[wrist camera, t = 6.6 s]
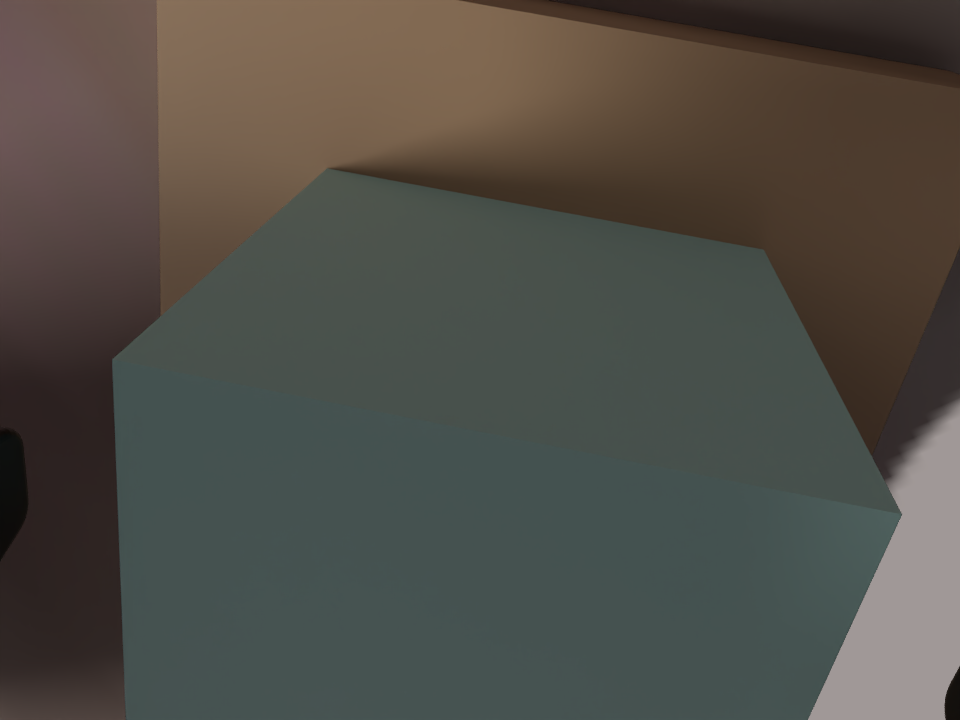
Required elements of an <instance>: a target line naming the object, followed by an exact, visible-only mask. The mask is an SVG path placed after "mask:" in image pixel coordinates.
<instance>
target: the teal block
mask: <svg viewBox="0 0 960 720" xmlns="http://www.w3.org/2000/svg"><path fill="white" fill-rule="evenodd" d="M112 369H113V395H114V421H115V447H116V474H117V500H118V526H119V552H120V579H121V605H122V631H123V657H124V684H125V710H126V720H808V718H809V716H810V714H811V712H812V709H813V707H814V705H815V703H816V701H817V699H818V696H819V694H820V692H821V690H822V688H823V685H824V683H825V681H826V679H827V677H828V675H829V672H830V670H831V668H832V666H833V664H834V662H835V659H836V657H837V655H838V653H839V650H840V648H841V646H842V644H843V642H844V640H845V638H846V635H847V633H848V631H849V629H850V627H851V624H852V622H853V620H854V618H855V616H856V613H857V611H858V609H859V607H860V605H861V603H862V600H863V598H864V596H865V594H866V592H867V590H868V587H869V585H870V583H871V581H872V579H873V577H874V574H875V572H876V570H877V568H878V565H879V563H880V561H881V559H882V557H883V555H884V553H885V550H886V548H887V546H888V544H889V542H890V540H891V537H892V535H893V533H894V531H895V528H896V526H897V524H898V522H899V520H900V518H901V516H902V514H901V512H900V510H899V508H898V506H897V504H896V502H895V500H894V498H893V496H892V494H891V493H890V491H889V489H888V487H887V485H886V483H885V481H884V479H883V477H882V475H881V473H880V471H879V470H878V468H877V466H876V464H875V462H874V460H873V458H872V456H871V454H870V452H869V450H868V448H867V447H866V445H865V443H864V441H863V439H862V437H861V435H860V433H859V431H858V429H857V427H856V426H855V424H854V422H853V420H852V418H851V416H850V414H849V412H848V410H847V408H846V406H845V404H844V403H843V401H842V399H841V397H840V395H839V393H838V391H837V389H836V387H835V385H834V383H833V381H832V380H831V378H830V376H829V374H828V372H827V370H826V368H825V366H824V364H823V362H822V360H821V358H820V357H819V355H818V353H817V351H816V349H815V347H814V345H813V343H812V341H811V339H810V337H809V335H808V334H807V332H806V330H805V328H804V326H803V324H802V322H801V320H800V318H799V316H798V314H797V312H796V311H795V309H794V307H793V305H792V303H791V301H790V299H789V297H788V295H787V293H786V291H785V289H784V288H783V286H782V284H781V282H780V280H779V278H778V276H777V274H776V272H775V270H774V268H773V267H772V265H771V263H770V261H769V259H768V257H767V255H766V253H765V251H764V250H763V249H757V248H752V247H746V246H741V245H736V244H730V243H725V242H720V241H714V240H709V239H704V238H698V237H693V236H688V235H682V234H677V233H671V232H666V231H661V230H655V229H650V228H645V227H639V226H634V225H629V224H623V223H618V222H612V221H607V220H602V219H596V218H591V217H586V216H580V215H575V214H570V213H564V212H559V211H553V210H548V209H543V208H537V207H532V206H527V205H521V204H516V203H511V202H505V201H500V200H494V199H489V198H484V197H478V196H473V195H468V194H462V193H457V192H452V191H446V190H441V189H435V188H430V187H425V186H419V185H414V184H409V183H403V182H398V181H393V180H387V179H382V178H376V177H371V176H366V175H360V174H355V173H350V172H344V171H339V170H334V169H328V168H327V169H326V170H325V171H324V172H322V173H321V174H320V175H319V176H318V177H317V178H316V179H315V180H313V181H312V182H311V183H310V184H309V185H308V186H307V187H306V188H304V189H303V190H302V191H301V192H300V193H299V194H298V195H297V196H295V197H294V198H293V199H292V200H291V201H290V202H289V203H288V204H286V205H285V206H284V207H283V208H282V209H281V210H280V211H279V212H277V213H276V214H275V215H274V216H273V217H272V218H271V219H270V220H268V221H267V222H266V223H265V224H264V225H263V226H262V227H261V228H259V229H258V230H257V231H256V232H255V233H254V234H253V235H252V236H250V237H249V238H248V239H247V240H246V241H245V242H244V243H243V244H241V245H240V246H239V247H238V248H237V249H236V250H235V251H234V252H232V253H231V254H230V255H229V256H228V257H227V258H226V259H225V260H223V261H222V262H221V263H220V264H219V265H218V266H217V267H216V268H214V269H213V270H212V271H211V272H210V273H209V274H208V275H207V276H205V277H204V278H203V279H202V280H201V281H200V282H199V283H198V284H196V285H195V286H194V287H193V288H192V289H191V290H190V291H189V292H187V293H186V294H185V295H184V296H183V297H182V298H181V299H180V300H178V301H177V302H176V303H175V304H174V305H173V306H172V307H171V308H169V309H168V310H167V311H166V312H165V313H164V314H163V315H162V316H160V317H159V318H158V319H157V320H156V321H155V322H154V323H153V324H151V325H150V326H149V327H148V328H147V329H146V330H145V331H144V332H142V333H141V334H140V335H139V336H138V337H137V338H136V339H135V340H133V341H132V342H131V343H130V344H129V345H128V346H127V347H126V348H124V349H123V350H122V351H121V352H120V353H119V354H118V355H117V356H115V357H114V358H113V359H112Z"/></svg>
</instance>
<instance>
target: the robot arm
mask: <svg viewBox="0 0 960 720" xmlns="http://www.w3.org/2000/svg"><path fill="white" fill-rule="evenodd" d="M27 510H28V489H27V479H26V468H25V458H24V447H23V442H22V439H21V437H20V435H19V434H18V433H17V432H16V431H14V430H13V429H10V428H6V427H1V426H0V561H1V559H2V558H3V556H4V555H5V553H6V551H7V550H8V548H9V547H10V545H11V543H12V542H13V540H14V538H15V537H16V535H17V534H18V532H19V530H20V529H21V527H22V525H23V523H24V520H25V518H26V514H27ZM945 718H946V720H960V667H959V669H958V670H957V672H956V674H955V676H954V678H953V680H952V681H951V683H950V686H949V688H948V690H947V694H946V697H945Z"/></svg>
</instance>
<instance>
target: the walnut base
mask: <svg viewBox="0 0 960 720" xmlns="http://www.w3.org/2000/svg"><path fill="white" fill-rule="evenodd" d="M157 64H158V148H159V233H160V316H162V315H163V314H164V313H165V312H166V311H167V310H168V309H169V308H171V307H172V306H173V305H174V304H175V303H176V302H177V301H178V300H180V299H181V298H182V297H183V296H184V295H185V294H186V293H187V292H189V291H190V290H191V289H192V288H193V287H194V286H195V285H196V284H198V283H199V282H200V281H201V280H202V279H203V278H204V277H205V276H207V275H208V274H209V273H210V272H211V271H212V270H213V269H214V268H216V267H217V266H218V265H219V264H220V263H221V262H222V261H223V260H225V259H226V258H227V257H228V256H229V255H230V254H231V253H232V252H234V251H235V250H236V249H237V248H238V247H239V246H240V245H241V244H243V243H244V242H245V241H246V240H247V239H248V238H249V237H250V236H252V235H253V234H254V233H255V232H256V231H257V230H258V229H259V228H261V227H262V226H263V225H264V224H265V223H266V222H267V221H268V220H270V219H271V218H272V217H273V216H274V215H275V214H276V213H277V212H279V211H280V210H281V209H282V208H283V207H284V206H285V205H286V204H288V203H289V202H290V201H291V200H292V199H293V198H294V197H295V196H297V195H298V194H299V193H300V192H301V191H302V190H303V189H304V188H306V187H307V186H308V185H309V184H310V183H311V182H312V181H313V180H315V179H316V178H317V177H318V176H319V175H320V174H321V173H322V172H324V171H325V170H326V169H327V168H328V169H334V170H339V171H344V172H350V173H355V174H360V175H366V176H371V177H376V178H382V179H387V180H393V181H398V182H403V183H409V184H414V185H419V186H425V187H430V188H435V189H441V190H446V191H452V192H457V193H462V194H468V195H473V196H478V197H484V198H489V199H494V200H500V201H505V202H511V203H516V204H521V205H527V206H532V207H537V208H543V209H548V210H553V211H559V212H564V213H570V214H575V215H580V216H586V217H591V218H596V219H602V220H607V221H612V222H618V223H623V224H629V225H634V226H639V227H645V228H650V229H655V230H661V231H666V232H671V233H677V234H682V235H688V236H693V237H698V238H704V239H709V240H714V241H720V242H725V243H730V244H736V245H741V246H746V247H752V248H757V249H763V250H764V251H765V253H766V255H767V257H768V259H769V261H770V263H771V265H772V267H773V268H774V270H775V272H776V274H777V276H778V278H779V280H780V282H781V284H782V286H783V288H784V289H785V291H786V293H787V295H788V297H789V299H790V301H791V303H792V305H793V307H794V309H795V311H796V312H797V314H798V316H799V318H800V320H801V322H802V324H803V326H804V328H805V330H806V332H807V334H808V335H809V337H810V339H811V341H812V343H813V345H814V347H815V349H816V351H817V353H818V355H819V357H820V358H821V360H822V362H823V364H824V366H825V368H826V370H827V372H828V374H829V376H830V378H831V380H832V381H833V383H834V385H835V387H836V389H837V391H838V393H839V395H840V397H841V399H842V401H843V403H844V404H845V406H846V408H847V410H848V412H849V414H850V416H851V418H852V420H853V422H854V424H855V426H856V427H857V429H858V431H859V433H860V435H861V437H862V439H863V441H864V443H865V445H866V447H867V448H868V450H869V452H870V454H871V456H872V454H873V452H874V450H875V447H876V445H877V442H878V440H879V438H880V435H881V433H882V431H883V428H884V426H885V423H886V421H887V419H888V416H889V414H890V412H891V409H892V407H893V404H894V402H895V400H896V397H897V395H898V393H899V390H900V388H901V386H902V383H903V381H904V378H905V376H906V374H907V371H908V369H909V367H910V364H911V362H912V359H913V357H914V355H915V352H916V350H917V348H918V345H919V343H920V340H921V338H922V336H923V333H924V331H925V329H926V326H927V324H928V321H929V319H930V317H931V314H932V312H933V310H934V307H935V305H936V303H937V300H938V298H939V295H940V293H941V291H942V288H943V286H944V284H945V281H946V279H947V276H948V274H949V272H950V269H951V267H952V265H953V262H954V260H955V257H956V255H957V253H958V250H959V248H960V75H959V74H956V73H954V72H951V71H946V70H941V69H935V68H929V67H924V66H918V65H912V64H907V63H901V62H895V61H890V60H884V59H878V58H872V57H867V56H861V55H855V54H850V53H844V52H838V51H833V50H827V49H821V48H816V47H810V46H804V45H798V44H793V43H787V42H781V41H776V40H770V39H764V38H759V37H753V36H747V35H742V34H736V33H730V32H724V31H719V30H713V29H707V28H702V27H696V26H690V25H685V24H679V23H673V22H668V21H662V20H656V19H650V18H645V17H639V16H633V15H628V14H622V13H616V12H611V11H605V10H599V9H594V8H588V7H582V6H576V5H571V4H565V3H559V2H554V1H548V0H157Z"/></svg>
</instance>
